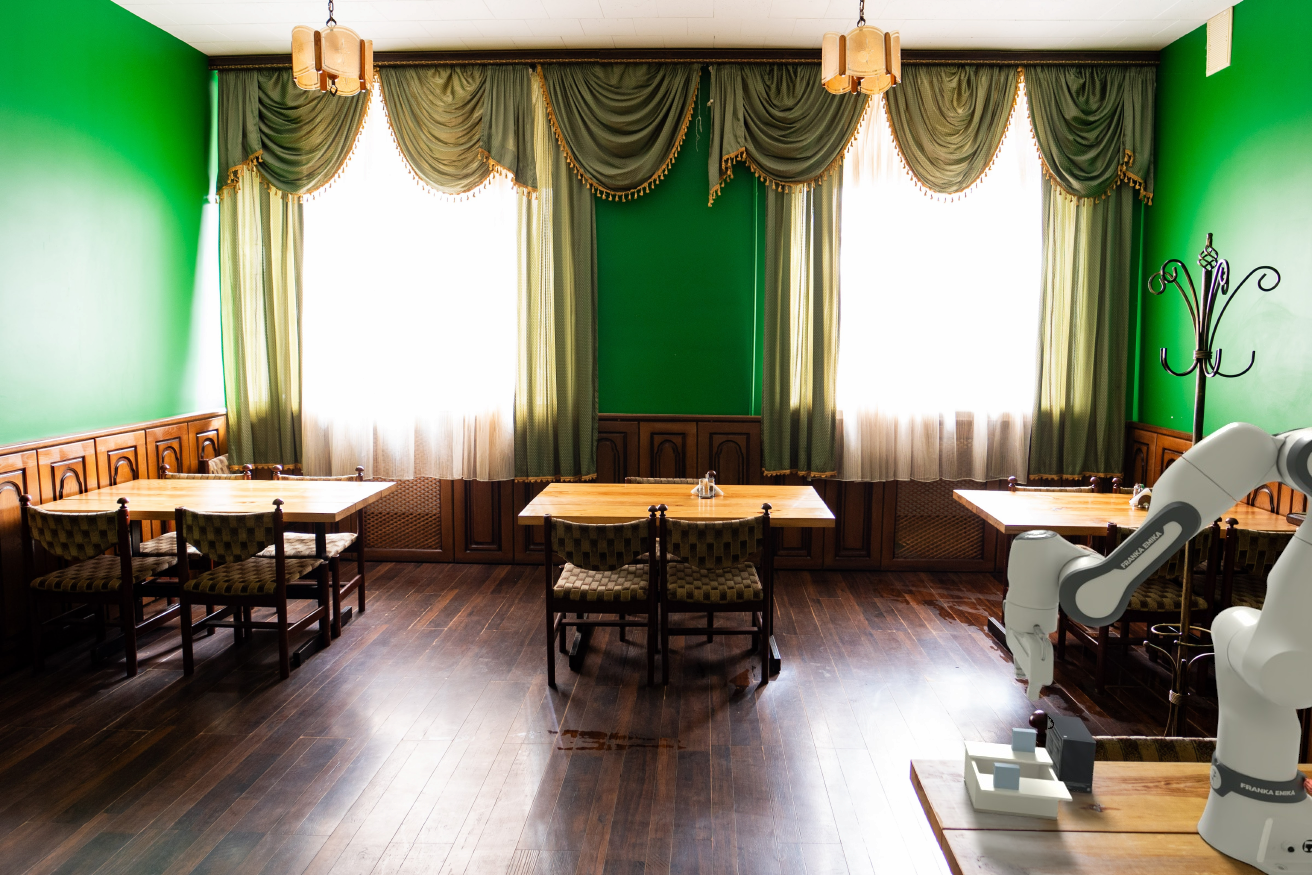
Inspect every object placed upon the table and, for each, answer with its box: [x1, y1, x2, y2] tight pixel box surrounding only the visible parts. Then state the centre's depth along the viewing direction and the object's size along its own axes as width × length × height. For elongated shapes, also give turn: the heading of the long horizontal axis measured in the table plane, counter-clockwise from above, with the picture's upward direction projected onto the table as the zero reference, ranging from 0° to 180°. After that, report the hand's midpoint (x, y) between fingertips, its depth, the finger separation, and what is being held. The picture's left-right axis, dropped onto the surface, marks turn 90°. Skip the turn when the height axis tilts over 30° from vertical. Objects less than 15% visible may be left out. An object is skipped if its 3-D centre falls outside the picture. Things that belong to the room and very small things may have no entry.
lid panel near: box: [975, 763, 1073, 802], centre depth 142 cm, size 15×5×4 cm, turn 79°
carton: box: [963, 748, 1060, 821], centre depth 152 cm, size 14×11×7 cm
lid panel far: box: [963, 727, 1053, 765], centre depth 154 cm, size 15×5×4 cm, turn 79°
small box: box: [1045, 713, 1097, 794], centre depth 159 cm, size 11×6×10 cm, turn 168°
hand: (1026, 687), depth 153 cm, fingers open, 8 cm apart
